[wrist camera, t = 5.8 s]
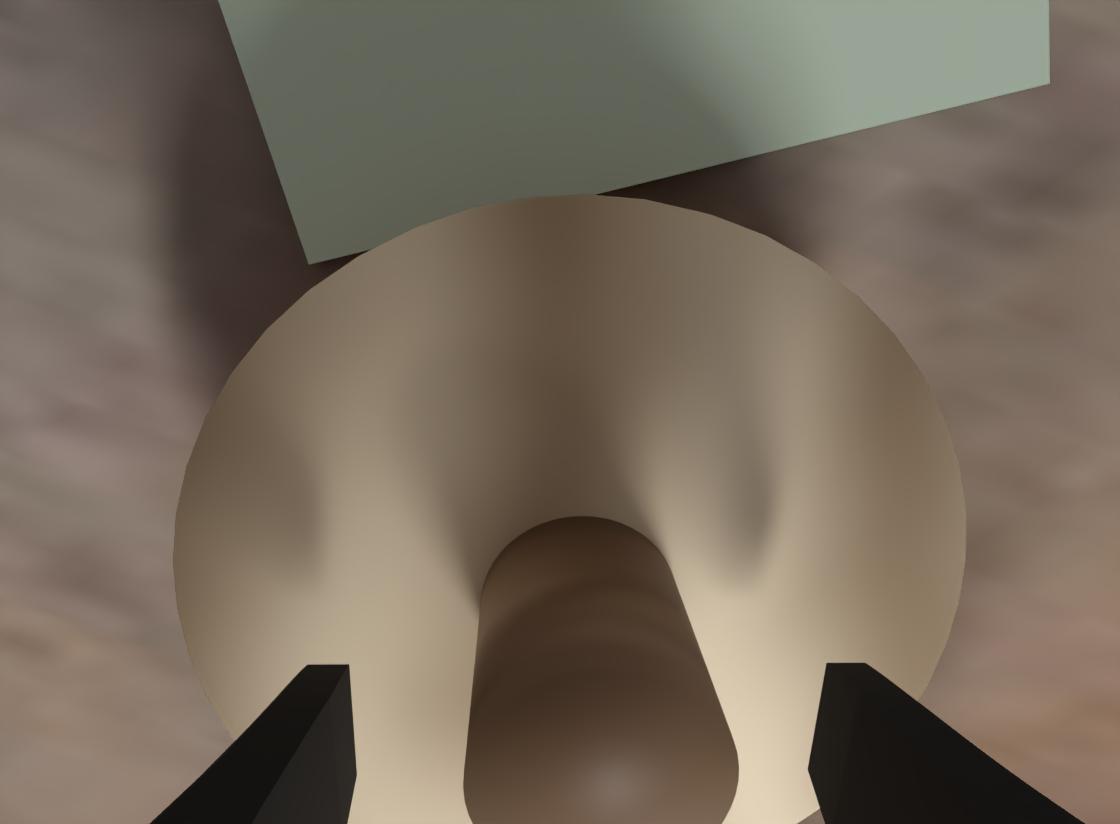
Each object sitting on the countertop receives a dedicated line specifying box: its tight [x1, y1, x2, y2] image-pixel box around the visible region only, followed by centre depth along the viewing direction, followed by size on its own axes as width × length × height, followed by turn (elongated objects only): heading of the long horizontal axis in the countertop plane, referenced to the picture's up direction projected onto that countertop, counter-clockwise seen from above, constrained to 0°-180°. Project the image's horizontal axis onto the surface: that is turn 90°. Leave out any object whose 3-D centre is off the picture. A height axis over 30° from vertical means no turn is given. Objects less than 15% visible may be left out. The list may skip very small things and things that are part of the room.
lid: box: [173, 194, 966, 824], centre depth 11 cm, size 14×14×5 cm
